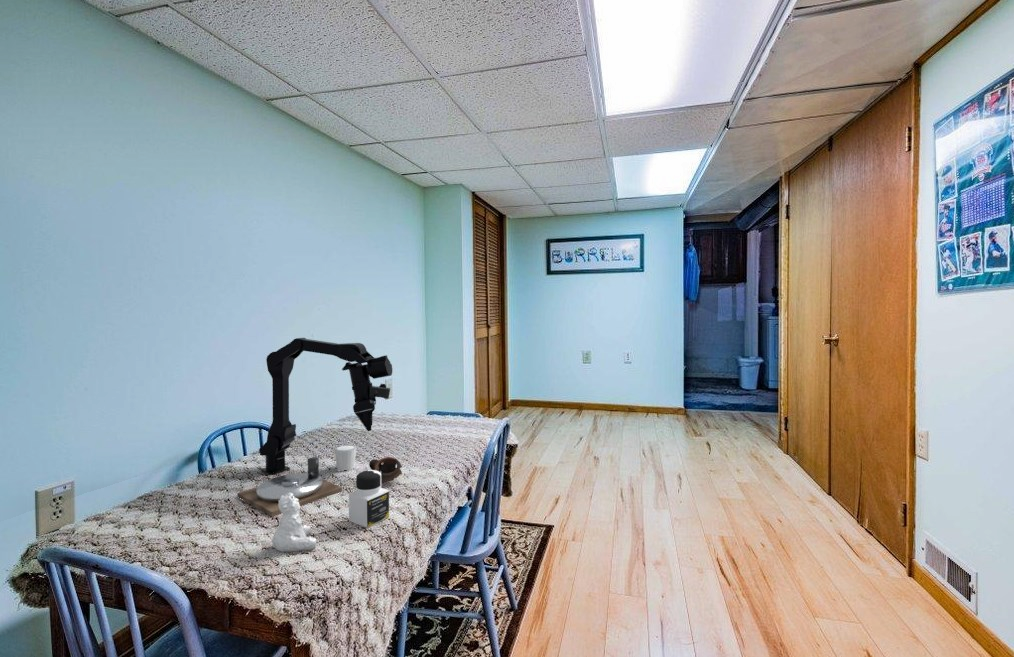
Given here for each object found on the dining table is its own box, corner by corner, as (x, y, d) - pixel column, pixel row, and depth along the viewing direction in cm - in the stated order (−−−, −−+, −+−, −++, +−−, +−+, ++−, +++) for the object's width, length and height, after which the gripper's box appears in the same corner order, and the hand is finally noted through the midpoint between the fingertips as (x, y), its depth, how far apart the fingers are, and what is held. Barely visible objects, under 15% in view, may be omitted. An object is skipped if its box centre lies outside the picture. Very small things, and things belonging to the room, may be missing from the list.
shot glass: (342, 473, 143) (342, 452, 142) (330, 468, 147) (330, 448, 147) (360, 467, 148) (360, 447, 148) (349, 463, 152) (348, 443, 152)
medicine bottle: (367, 528, 106) (367, 479, 106) (348, 521, 110) (347, 474, 110) (389, 517, 112) (389, 471, 112) (370, 510, 116) (370, 465, 116)
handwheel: (245, 491, 124) (245, 467, 124) (303, 473, 138) (302, 452, 138) (275, 507, 114) (274, 480, 114) (334, 486, 128) (334, 463, 128)
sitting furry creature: (318, 549, 97) (317, 495, 97) (275, 561, 92) (274, 505, 92) (309, 531, 105) (308, 482, 104) (268, 542, 100) (268, 490, 99)
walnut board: (237, 497, 124) (237, 493, 124) (305, 476, 140) (305, 472, 140) (272, 516, 112) (272, 512, 112) (341, 491, 128) (341, 487, 128)
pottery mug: (409, 477, 141) (408, 459, 137) (392, 500, 134) (390, 482, 129) (377, 463, 145) (376, 446, 140) (359, 485, 137) (356, 467, 133)
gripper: (385, 378, 136) (395, 427, 136) (386, 373, 154) (394, 417, 154) (348, 386, 133) (358, 436, 133) (353, 380, 151) (362, 425, 151)
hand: (370, 428), depth 143 cm, fingers open, 9 cm apart
